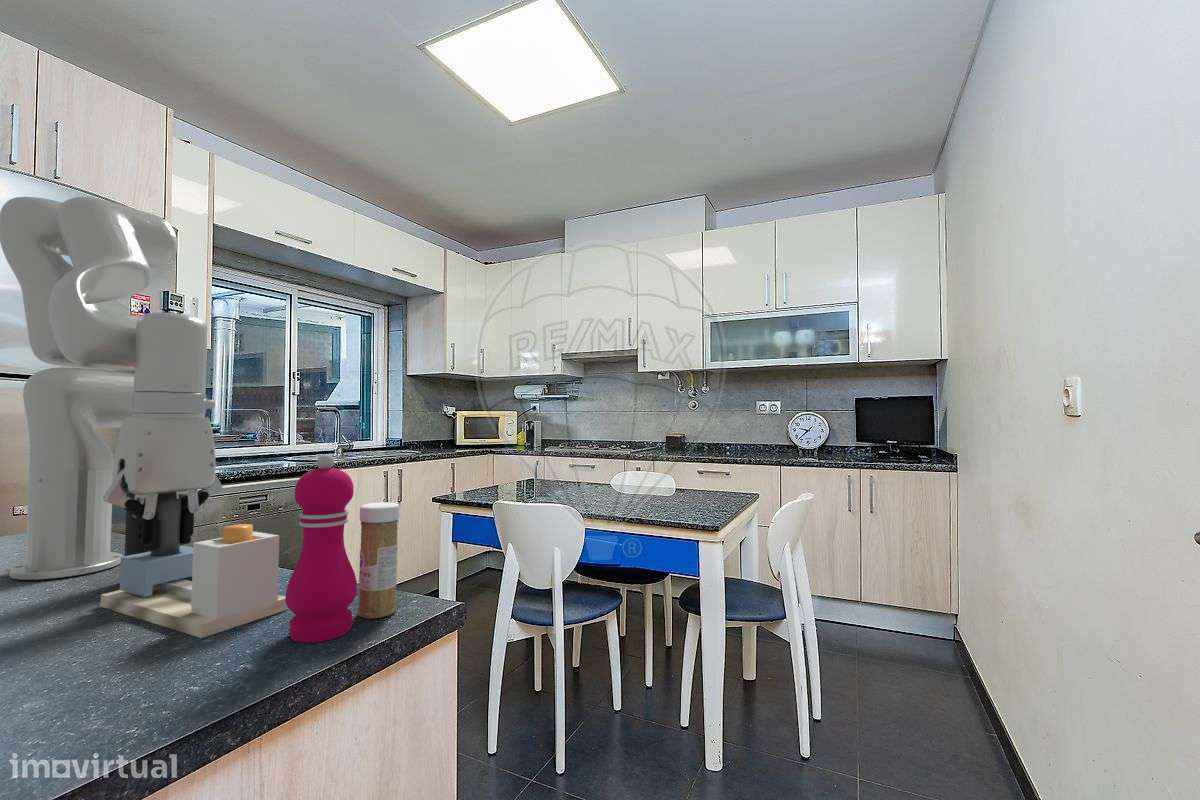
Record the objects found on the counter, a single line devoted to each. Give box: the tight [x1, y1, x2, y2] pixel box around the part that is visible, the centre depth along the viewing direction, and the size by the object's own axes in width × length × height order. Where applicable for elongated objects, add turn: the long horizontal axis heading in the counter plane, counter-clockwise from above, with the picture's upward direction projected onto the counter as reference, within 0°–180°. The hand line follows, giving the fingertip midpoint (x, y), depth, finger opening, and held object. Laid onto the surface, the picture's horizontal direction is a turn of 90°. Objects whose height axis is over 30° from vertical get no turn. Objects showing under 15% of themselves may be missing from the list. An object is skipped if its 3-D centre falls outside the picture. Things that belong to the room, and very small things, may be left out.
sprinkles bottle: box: [356, 501, 400, 620], centre depth 67 cm, size 5×5×13 cm
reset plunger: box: [222, 523, 254, 544], centre depth 65 cm, size 3×3×4 cm
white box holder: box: [191, 531, 280, 620], centre depth 65 cm, size 5×7×8 cm
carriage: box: [119, 499, 193, 597], centre depth 71 cm, size 6×7×11 cm
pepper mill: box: [285, 453, 358, 644], centre depth 61 cm, size 7×7×20 cm
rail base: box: [100, 579, 290, 639], centre depth 68 cm, size 22×10×3 cm, turn 64°
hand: (165, 544), depth 71 cm, fingers closed on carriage, 3 cm apart
